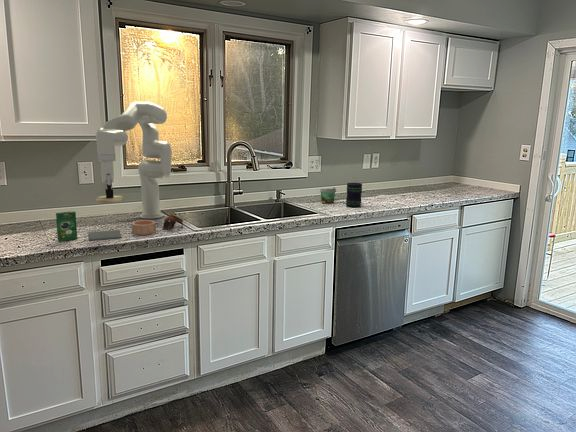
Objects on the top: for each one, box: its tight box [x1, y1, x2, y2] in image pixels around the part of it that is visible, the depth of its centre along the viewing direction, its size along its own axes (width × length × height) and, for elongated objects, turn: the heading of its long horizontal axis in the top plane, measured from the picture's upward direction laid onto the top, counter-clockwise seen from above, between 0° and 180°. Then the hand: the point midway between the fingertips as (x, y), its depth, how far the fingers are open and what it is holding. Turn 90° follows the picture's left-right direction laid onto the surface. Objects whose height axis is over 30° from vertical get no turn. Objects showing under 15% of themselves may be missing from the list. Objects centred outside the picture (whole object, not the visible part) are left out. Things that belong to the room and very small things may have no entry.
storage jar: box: [345, 182, 363, 209], centre depth 297 cm, size 10×10×15 cm
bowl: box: [131, 219, 157, 236], centre depth 225 cm, size 11×11×5 cm
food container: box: [319, 187, 337, 205], centre depth 306 cm, size 12×6×10 cm, turn 127°
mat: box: [88, 229, 123, 242], centre depth 219 cm, size 14×14×1 cm
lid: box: [95, 189, 124, 204], centre depth 216 cm, size 12×12×5 cm
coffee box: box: [55, 210, 78, 243], centre depth 209 cm, size 8×3×13 cm, turn 135°
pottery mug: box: [162, 214, 184, 231], centre depth 234 cm, size 12×10×8 cm
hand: (109, 196), depth 216 cm, fingers closed on lid, 3 cm apart
